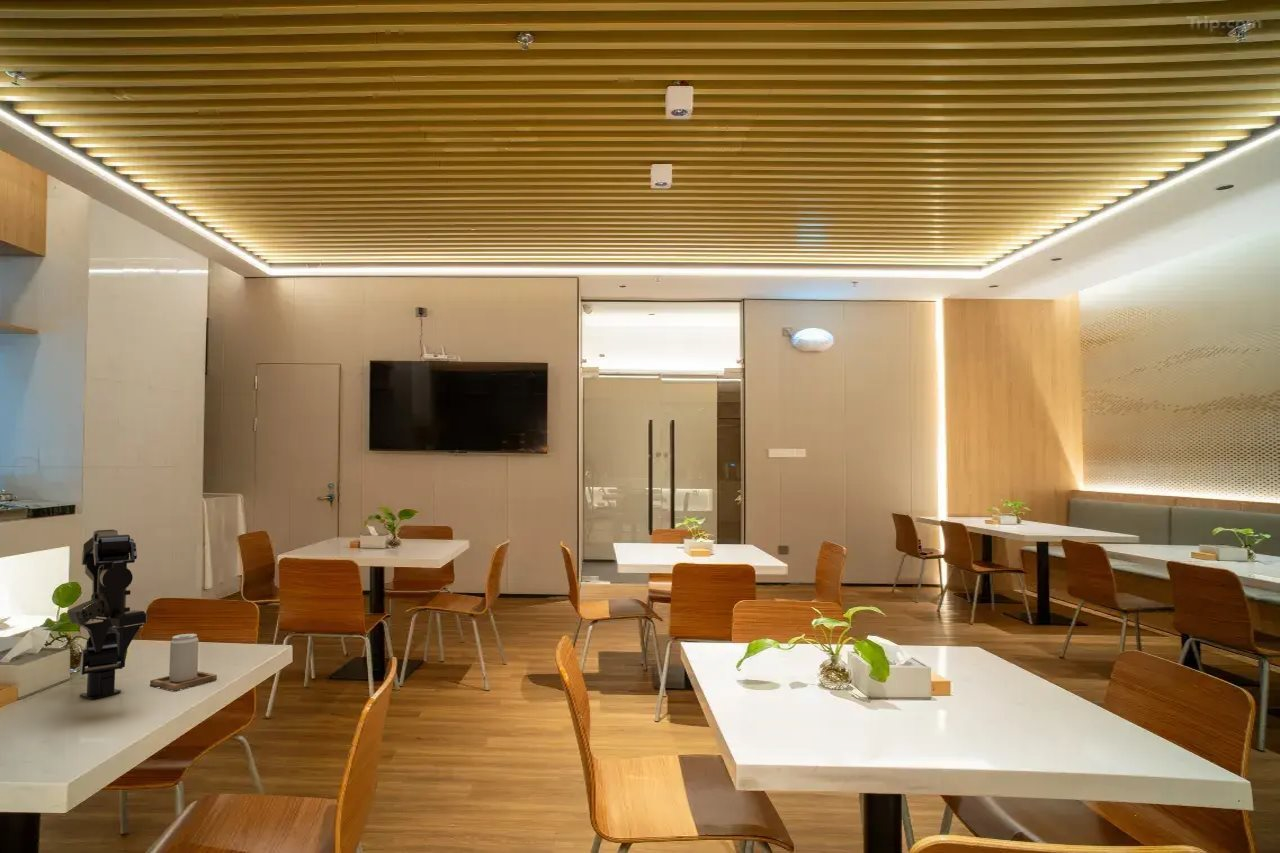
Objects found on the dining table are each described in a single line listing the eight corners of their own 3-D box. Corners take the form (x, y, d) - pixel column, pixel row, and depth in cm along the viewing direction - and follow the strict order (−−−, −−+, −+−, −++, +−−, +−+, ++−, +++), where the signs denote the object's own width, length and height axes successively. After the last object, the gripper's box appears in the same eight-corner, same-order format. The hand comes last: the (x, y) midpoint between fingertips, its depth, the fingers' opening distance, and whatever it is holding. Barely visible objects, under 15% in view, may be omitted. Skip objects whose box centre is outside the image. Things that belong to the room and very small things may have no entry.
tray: (150, 686, 189) (150, 680, 189) (192, 675, 199) (192, 670, 199) (174, 691, 184) (175, 685, 184) (216, 680, 194) (216, 674, 194)
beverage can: (167, 685, 188) (169, 639, 188) (170, 679, 193) (171, 634, 194) (196, 682, 191) (197, 636, 191) (197, 676, 196) (199, 631, 197)
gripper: (51, 590, 169) (48, 657, 168) (98, 593, 162) (95, 664, 160) (102, 584, 179) (100, 647, 178) (149, 587, 172) (147, 653, 171)
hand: (109, 653), depth 172 cm, fingers open, 9 cm apart
